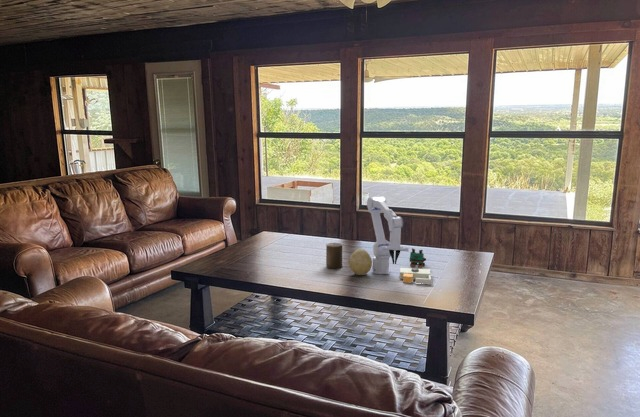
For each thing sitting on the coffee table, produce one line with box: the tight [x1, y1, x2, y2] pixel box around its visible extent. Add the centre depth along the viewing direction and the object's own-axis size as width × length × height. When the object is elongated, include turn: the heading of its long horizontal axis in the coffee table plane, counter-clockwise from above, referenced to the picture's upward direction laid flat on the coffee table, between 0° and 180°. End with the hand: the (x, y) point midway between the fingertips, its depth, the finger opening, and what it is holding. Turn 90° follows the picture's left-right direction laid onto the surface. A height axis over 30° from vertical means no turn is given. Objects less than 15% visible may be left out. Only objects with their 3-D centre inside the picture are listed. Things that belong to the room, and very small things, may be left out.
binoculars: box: [409, 248, 427, 268], centre depth 277 cm, size 9×11×10 cm
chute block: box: [402, 273, 414, 283], centre depth 251 cm, size 5×5×4 cm
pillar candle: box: [325, 242, 343, 270], centre depth 275 cm, size 10×10×15 cm
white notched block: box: [399, 267, 432, 285], centre depth 253 cm, size 16×16×4 cm
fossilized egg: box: [348, 248, 373, 276], centre depth 260 cm, size 13×13×15 cm
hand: (394, 263), depth 251 cm, fingers closed
